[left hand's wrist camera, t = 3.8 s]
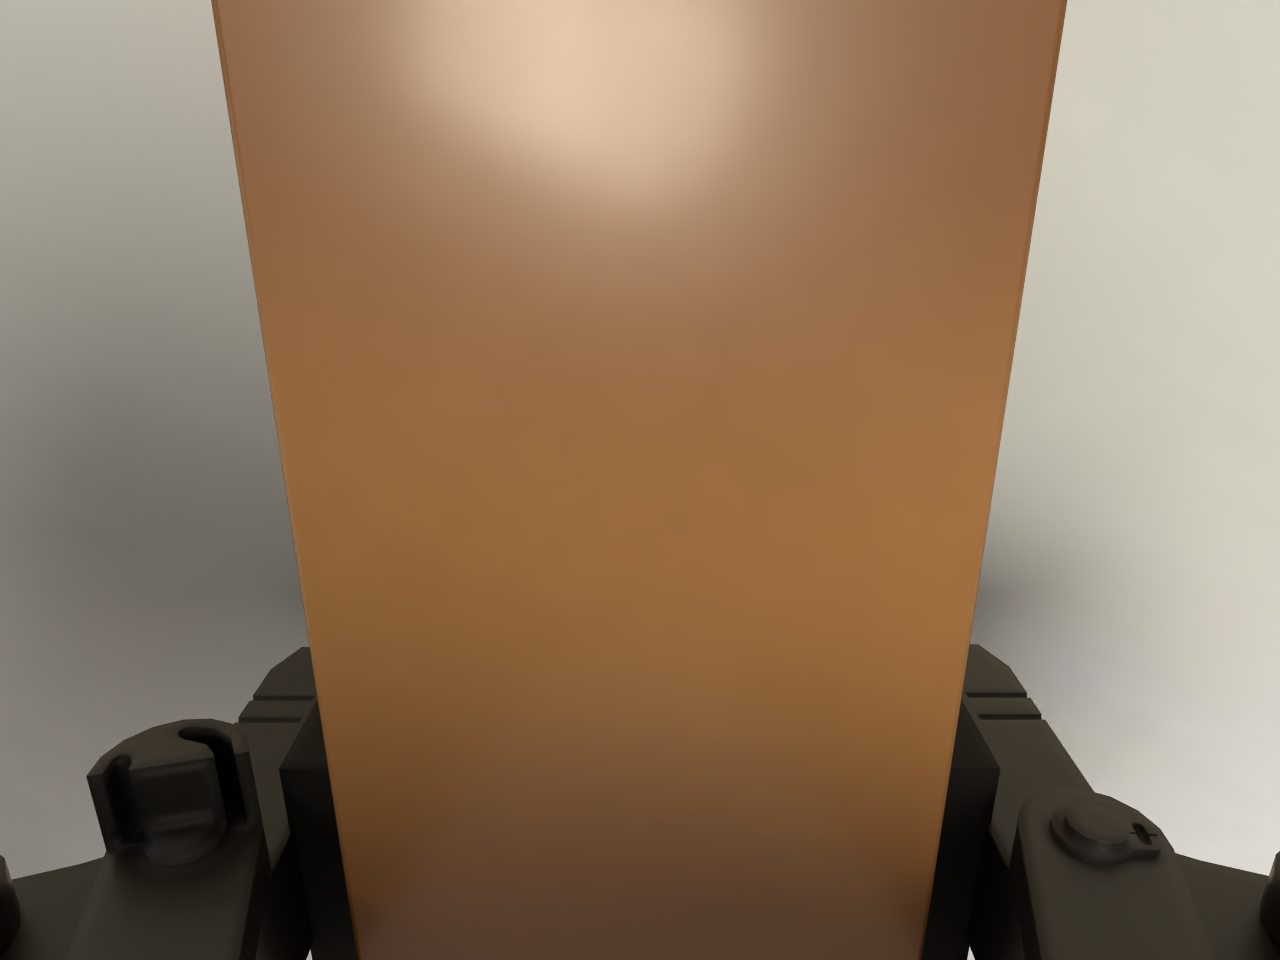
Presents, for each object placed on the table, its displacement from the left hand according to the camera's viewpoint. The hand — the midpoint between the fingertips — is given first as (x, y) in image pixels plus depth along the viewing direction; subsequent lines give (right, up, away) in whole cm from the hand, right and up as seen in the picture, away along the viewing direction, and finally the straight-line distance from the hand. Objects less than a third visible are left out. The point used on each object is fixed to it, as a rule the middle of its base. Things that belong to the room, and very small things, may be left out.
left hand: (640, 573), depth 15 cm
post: (0, +34, -13) cm, 37 cm away
